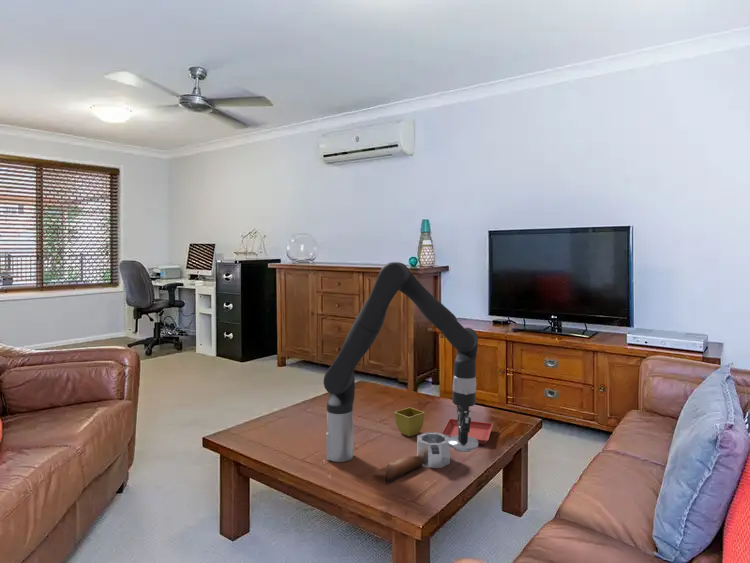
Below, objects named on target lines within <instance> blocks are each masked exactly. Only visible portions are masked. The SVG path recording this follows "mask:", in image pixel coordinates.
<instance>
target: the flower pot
mask: <svg viewBox="0 0 750 563" xmlns="http://www.w3.org/2000/svg"><path fill="white" fill-rule="evenodd" d="M394 418H395V419H394V420H395V424H396V426H397V429H398V431H399V433H400V434H402V435H404V436H407V437H413V436H415V435H418V434H419V433H420V432H421V430H422V428H423V425H424V419H425V411H422V410H419V409H417V408H413V407H409V406H408V407H407V408H403V409H399V410H395V411H394Z"/></svg>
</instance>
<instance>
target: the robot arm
mask: <svg viewBox="0 0 750 563" xmlns="http://www.w3.org/2000/svg"><path fill="white" fill-rule="evenodd" d="M398 291H399V292H401V293H402V294H404V295H405V296H406V297H407V298H409V299H410V300H411V301H412V302H413V304H415V306H416V307H417V309H418V310H419V311H420V312H421V314H422V315H423V316H424V317H425V319H427V320H428V321H429V322H430V323H431V324H432V325H433V326H434V327H435V328H436V329H437V330H439V331H440V333H442V335H444V337H445V339H446V340H447V341H448V342H449V343H450V345H451V346H452V347H453V348H455V349H456V357H455V359H454V363H453V379H452V398H451V399H452V400H451V402H452V403H453V405H455V406H456V414H457V416H456V419H457V422H458V426H459V425H460V442H461V443H467V436H468V433H469V431H470V423H471V421H472V418H471V414H472V412H471V410H470V407H473V406H475V405H476V399H477V378H476V375H477V373H476V372H477V364H476V363H477V355H478V354H477V353H478V347H479V345H478V344H479V336H478V334H477V332H476V331H475V330H474V329H473V328H470V327H464V326H463V325H462V324H461V323H460V322H459V321H458V318H457V316H456V315H454V313H453V312H452V311H451V310H449V309H448V308H447V307H446V306H445V305H444V304H443V303H442V302H440V300H438V299H437V298H436V297H435V296H434V295H433V294H431V293H430V291H428V290H427V289H426V288H425V287H424V285H423V284H421V282H420V281H419V280H418V279H417V277H416V276H415V275H414V274H413V273H412V271H411V270H410V269H409V267H408V266H407V265H406V264H405V263H403V262H398V261H396V262H395V261H392V262H388V263H386V264H385V265H383V266H382V267H381V269H380V271H379V273H378V275H377V278H376V280H375V282H374V286H373V288H372V289H371V291H370V294H369V297H368V298H367V300H366V301H365V303H363V306H362V308H361V310H360V311H359V313H358V315H357V317H356V318H355V320H354V322H353V324H352V326H351V328H350V330H349V331H348V333H347V336H346V338H345V341H344V342H343V344H342V346H341V348H340V350H339V353H338V354H337V356H336V358H335V359H334V361H333V362H332V363H331V365H330V366H329V368H328V370H327V371H326V373H325V374H324V377H323V386H324V389H325V390H326V392H328V393H329V395H328V396H329V397H328V400H327V401H326V402H327V403H326V434H325V435H326V436H325V437H326V438H325V439H326V445H325V446H326V461H331V462H334V463H335V462H336V463H343V462H347V461H351V460H352V459H353V458H354V419H353V418H354V415H353V414H354V413H353V412H354V407H353V406H354V401H355V391H356V390H355V386H356V384H355V382H356V379H355V373H354V371H355V368H356V367H357V365H358V363H359V362H360V361H361V359H362V358H363V357H364V356H365V355H366V353H367V352H368V351H369V350H370V348H371V346H372V345H373V344H374V342H375V341H376V340H377V337H378V335H379V333H380V332H381V330H382V327H383V324H384V322H385V318H386V314H387V310H388V309H389V308H388V307H389V305H391V304H390V303H391V302H392V301H393V299H394V297H395V295H396V294H397V293H398ZM464 427H466V428H464Z"/></svg>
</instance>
